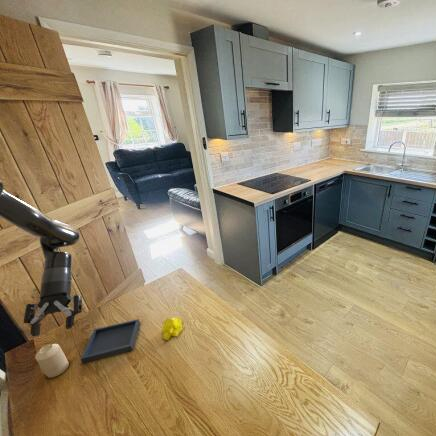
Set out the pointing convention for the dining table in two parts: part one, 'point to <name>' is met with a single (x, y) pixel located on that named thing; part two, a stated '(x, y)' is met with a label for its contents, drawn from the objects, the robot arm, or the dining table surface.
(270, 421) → the dining table surface
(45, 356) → the candle
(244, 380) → the dining table surface
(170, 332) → the crumpled paper
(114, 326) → the tray
